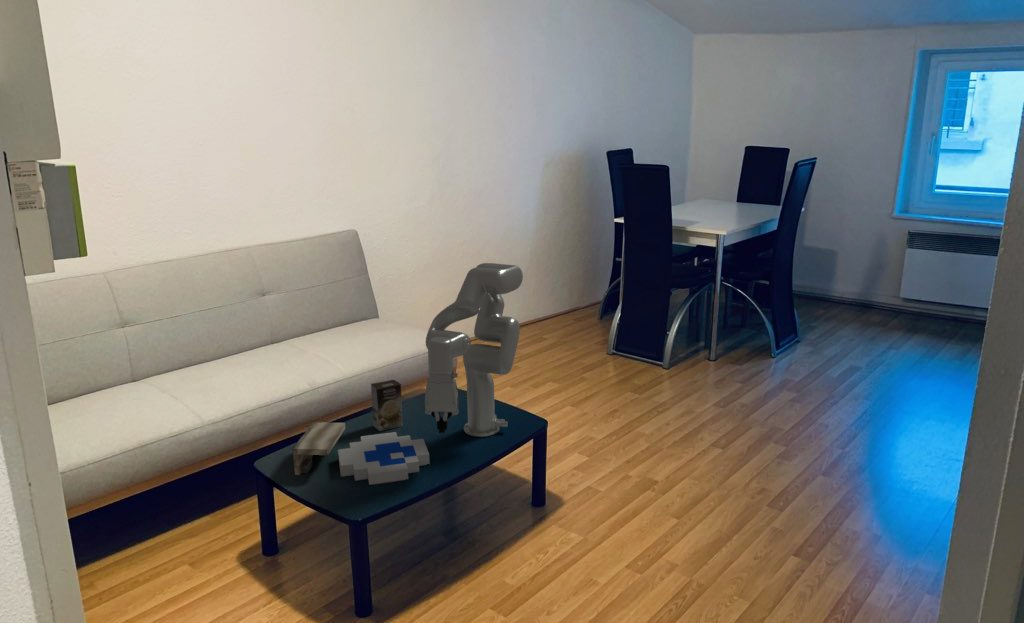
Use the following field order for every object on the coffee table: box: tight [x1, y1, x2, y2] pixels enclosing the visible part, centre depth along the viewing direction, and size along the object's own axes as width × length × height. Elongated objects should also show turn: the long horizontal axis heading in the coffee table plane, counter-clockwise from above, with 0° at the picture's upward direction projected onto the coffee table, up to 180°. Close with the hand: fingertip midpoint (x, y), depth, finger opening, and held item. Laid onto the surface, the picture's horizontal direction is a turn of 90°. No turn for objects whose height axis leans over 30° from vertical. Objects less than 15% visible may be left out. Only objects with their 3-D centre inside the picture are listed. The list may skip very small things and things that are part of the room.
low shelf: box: [292, 421, 346, 476], centre depth 255 cm, size 11×20×9 cm, turn 176°
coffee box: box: [370, 379, 404, 432], centre depth 280 cm, size 9×6×16 cm
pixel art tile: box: [337, 431, 430, 486], centre depth 254 cm, size 28×4×28 cm
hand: (442, 431), depth 249 cm, fingers closed
